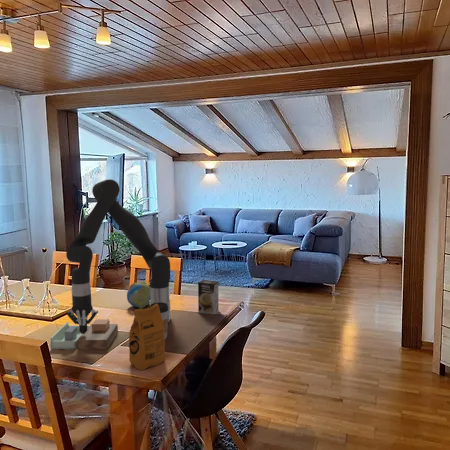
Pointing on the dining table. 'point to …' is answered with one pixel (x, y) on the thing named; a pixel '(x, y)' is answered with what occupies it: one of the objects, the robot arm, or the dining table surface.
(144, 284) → the blue green round ball
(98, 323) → the terracotta tile
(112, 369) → the dining table surface
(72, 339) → the slate tile
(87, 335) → the grey brown flat block
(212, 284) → the coffee box
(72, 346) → the tray
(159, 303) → the coffee cup
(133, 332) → the coffee package
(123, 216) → the robot arm
